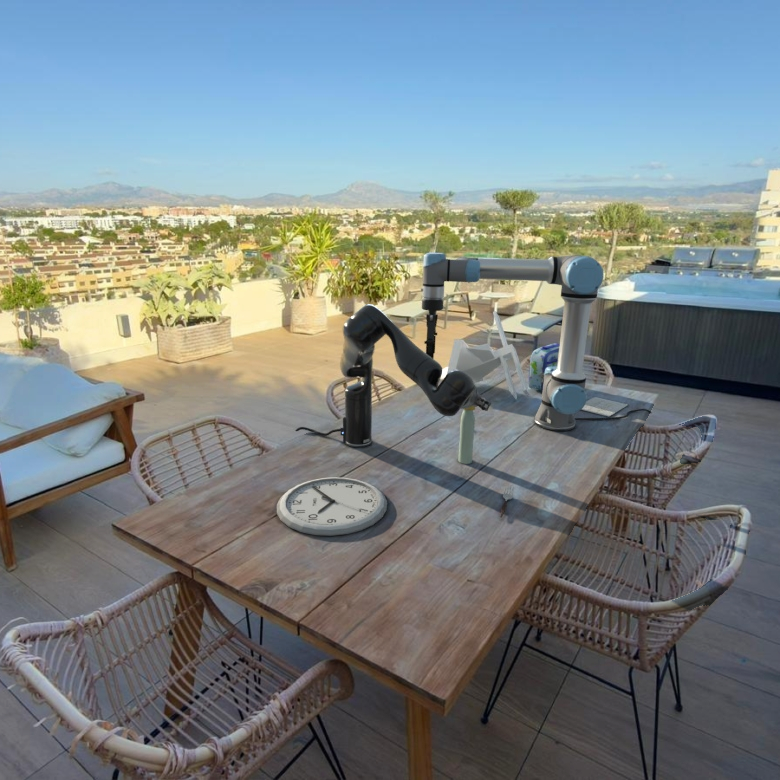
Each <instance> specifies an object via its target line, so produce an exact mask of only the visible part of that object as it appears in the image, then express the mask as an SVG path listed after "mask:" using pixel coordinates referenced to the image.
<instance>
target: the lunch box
mask: <svg viewBox="0 0 780 780" xmlns="http://www.w3.org/2000/svg"><path fill="white" fill-rule="evenodd" d="M559 346H560V343H551V344H548V345H544V346H541V347H538V348H536V349H534V350H533V351H532V353H531V355H530V359H529V370H528V371H529V372H528V389H531V390H536V391H541V392H543V382H544V373H545V369H546V368H547V367H553V366H557V364H558V355H559Z"/></svg>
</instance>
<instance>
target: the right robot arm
mask: <svg viewBox="0 0 780 780" xmlns="http://www.w3.org/2000/svg"><path fill="white" fill-rule="evenodd" d="M422 264H423V265H422V288H420V292H421V293H422V294H421V296H422V299H421V309H422V310H423V311H428V313H426V316H425V320H426V340H424V342H423V343H424V344H425V353H426V354H427V355H429V356H430V357H431V358H433V359H434V360H435V357H434V356H435V353H436V338H437V337H436V336H438V332H437V329H436V328H437V324H438V318H439V315H438V314H437V311H438V312H439V311H442V310H444V299H443V298H444V297H445V282H447V283H449V282H452V283H453V282H457V283H468V284H470V283H477V282H479V281H480V280H495V281H497V280H499V281H500V280H501V281H526V282H527V281H531V282H546V283H547V284H548V285H557V286H561V289H560V298H561V299H562V300H563V303H564V305H563V313H562V322H561V330H560V339H559V344H560V346H559V355H558V364H557V366H553V367H547V368H546V369H545V373H544V382H543V391H541V392H542V394H541V402H540V405H539V407H538V410H537V411H536V413H535V417H534V424H535V425H536V426H537V427H539V428H542V429H544V430H549V431H556V432H567V431H572V430H574V429H575V428H576V421H604V420H605V421H606V420H608V421H609V420H620V419H625V418H628V416H629V415H630V414H631V413H635V412H647V413H649V414H652V411H651V410H649V409H647V408H637V409H633V410H629V411H627V412H626V414H625V415H622V416H609V417H576V416H575V414H576V413H579V412H580V411H582V410H581V409H582V408H583V407H584V406H585V404H586V401H588V397H587V392H586V389H585V388H586V383H587V382H586V381H587V375H586V374H585V373H584V371H583V369H584V361H585V355H586V347H587V339H588V338H587V337H588V330H589V324H590V318H591V317H590V316H591V308H592V303H593V302H594V301H596V300H597V298H598V294H599V293H598V291H599V288H601V285H602V284H603V281H604V269H603V267H602V265H601V264H600V262H599V261H597V260H596V259H595V258H594V257H592V256H587V255H581V254H574V255H573V254H572V255H565V256H551V257H549V258H548V259H545V258H544V259H543V258H542V259H541V258H540V259H539V258H501V257H500V258H497V257H496V258H495V257H494V258H492V257H466V256H460V257H457V258H455V259H451V258H449V259H448V258H447V257H446V253H444V252H427V253H425V254H424V255H423V263H422Z"/></svg>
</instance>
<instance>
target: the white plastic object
mask: <svg viewBox="0 0 780 780" xmlns="http://www.w3.org/2000/svg"><path fill="white" fill-rule="evenodd" d="M492 315H493V319H494V321H495V324H496V325H495V326H496V328H497V332H498V335H499V338H500V342H501V345H502V347H500V348H498V349H496V350H495V349H493V348H492V347H491V346H490V344H489V343H488V342H487V343H483V344H479V345H473V346H469V345H468V343H466V342H465V340H464V339H463V338H460V339H458V338H454V340H453V344H452V349H451V353H450V357H449V362H448V366H446V367H444V368H442V375H441V378H440V381H442V380H443V379H444V378H445V376H446V375H447V374H448V373H449V372H450V371H452V370H460V371H463V372H465V373H466V374H468V375H469V376H470V377H471V378H472V380H473V382H474V384H477V383H480V382H482V381H484V378H485V377H486V376H487V375H489V374H490V373H492V372H494V371H495V370H496V369H497V368H499V367H500V366H502V370H503V373H504V376H505V380H506V383H507V386H508V390H509V393H510V394H511V395H512V397H513V398H514V399H515V400H517V392H516V391H517V390H516V388H515V385H514V381H513V378H512V375H511V371H510V369H509V365H508V361H510V360H513V363H514V366H515V369H516V372H517V376H518V380H519V382H520V385H521V389H522V391H523V393H524V395H525V396H526V397H528V396H531V395H530V390H529V386H528V384H527V381H526V378H525V375H524V371H523V369H522V368H523V367H522V366H521V362H520V359H519V355H518V352H517V349H516V347H515V346H514V345H513V343H511V344H508V341H507V337H506V334H505V331H504V328H503V325H502V321H501V318H500V315H499V314H498V312H497V311H496V310H495V311H492Z"/></svg>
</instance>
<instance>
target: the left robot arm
mask: <svg viewBox="0 0 780 780" xmlns="http://www.w3.org/2000/svg"><path fill="white" fill-rule="evenodd" d="M342 336H343V341H344V342H343V346H342V353H341V356H340V361H339V367H340V372H341V374H342V375H343V376H344V377H345V378H347V379H356V378H359V379H360V378H361V379H360V380H359V381H357V382H355V383H352V384H350V385H348V386H346V388H345V389H344V417H342V426H341V427H340V428H334V429H331V430H329V431H328V432H321V431H318V430H315V429H314V428H313V429H312V428H310V427H306V426H299V427H297V428H296V429H295V432H299V431H301V430H304V431H307V432H311V433H314V434H316V435H318V436H322V437H327V436H330V435H331V434H333V433H336V432H337V433H338V432H340V436H342V444H344V445H346V446H348V447H351V448H365V447H368V446H370V445H372V443H373V438H372V435H373V434H372V431H373V430H372V428H373V427H372V426H373V425H372V424H373V422H372V419H373V417H372V416H373V415H372V414H373V413H372V411H373V410H372V409H373V408H372V407H373V404H372V403H373V387H372V386H373V368H374V357H373V356H374V353H375V351H376V350H375V349H376V345H375V344H377V343H378V342H379V341H380V340H381V339H383V337H385V336H387V337H388V339H389V340H390V341H391V344H392V348H393V353H394V358H395V361H396V364H397V367H398V368H399V370H400V371H401V372H402V373H403V374H404V375H405V376H406V377H407V378H408V379H410V380H411V381H412V382H413V383H415V384H416V385H417V386H418V387H419V388H420V389H421V390H422V391H423V392H424V394H425V395H426V397H427V399H428V400H429V402H430V404H431V405H432V406H433V408H434V409H435V410H436V411H437V413H439V414H440V415H442V416H444V417H453V416H456V415H457V414H458V413H459V412H460V411H461V410H464V409H465V408H469V407H471V406H474V407H475V408H477V407H478V408H480V409H481V410H482V411H484V412H487V411H488V410H489V408H490V407H491V405H492V402H491V401H490V400H486V399H485V398H484V397H483V396H482V395H481V394H479V393H478V392H479V391H478V388H477V387H476V383H474V382H473V380H472V378H471V377H470V376H469V375H468V374H466V373H465V372H463V371H460V370H452V371H450V372H449V373H448V374H447V375H446V376H445V378H444V379H443V380H441V375H442V369H443V367H442V364H440V363H439V362H438V361H437V360H435V358H434V359H433V358H431V357H430V356H429V355H427V354H426V351H423V350H422V349H420V348H419V347H418V346H417V345H416V344H415V343H414V342H412V340H411V339H410V338H409V337H408V336H407V335H406V334H405V333H404V332H403V331H402V329H400V328H399V327H398V325H396V324H395V323H394V322H393V321H392V320H391V319H390V318H389V317H388V316H387V314H386V313H384V312H383V311H382V310H381V309H379V308H378V307H377V306H376V305H373V304H371V303H370V304H369V303H368V304H365V305H364V306H362V307H361V308H360V309H358V311H356V312H355V313H354V314H353V315H351V316H350V317H349V318H348V319H347V320H345V322H344V323H343V325H342Z"/></svg>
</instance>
